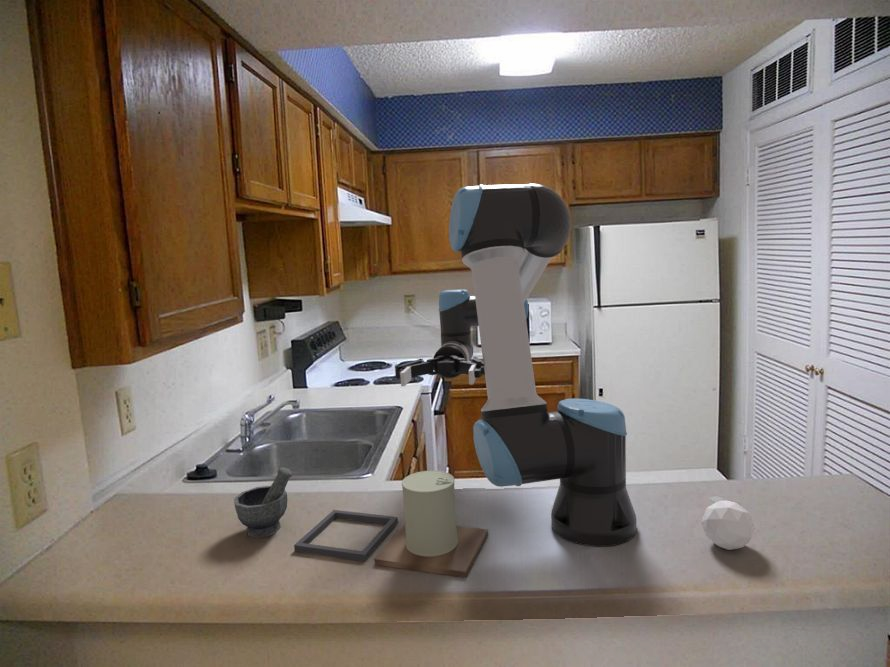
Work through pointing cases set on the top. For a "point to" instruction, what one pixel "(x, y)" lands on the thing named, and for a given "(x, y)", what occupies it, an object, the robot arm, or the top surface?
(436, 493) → the can
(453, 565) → the walnut board
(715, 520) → the ball
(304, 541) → the grey picture frame
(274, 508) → the mortar and pestle
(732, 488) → the top surface
